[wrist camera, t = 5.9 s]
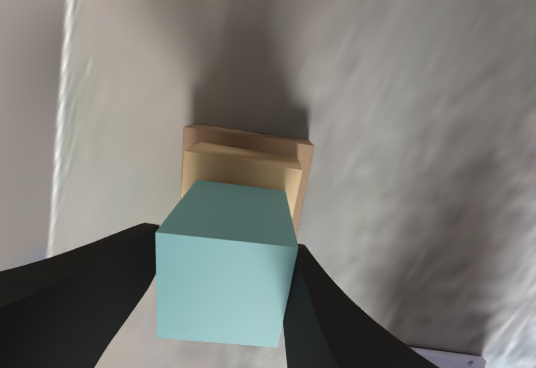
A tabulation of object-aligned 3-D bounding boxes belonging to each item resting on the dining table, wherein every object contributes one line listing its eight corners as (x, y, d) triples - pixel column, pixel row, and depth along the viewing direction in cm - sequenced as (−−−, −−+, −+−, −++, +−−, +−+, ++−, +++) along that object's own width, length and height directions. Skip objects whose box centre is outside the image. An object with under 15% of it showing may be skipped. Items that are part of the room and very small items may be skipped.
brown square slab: (308, 139, 18) (314, 145, 15) (289, 236, 20) (292, 257, 18) (198, 123, 18) (183, 126, 15) (192, 222, 20) (179, 242, 17)
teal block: (285, 190, 13) (298, 247, 8) (272, 263, 14) (277, 347, 9) (196, 179, 12) (155, 232, 8) (193, 255, 14) (157, 337, 9)
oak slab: (297, 157, 15) (302, 170, 12) (280, 241, 17) (281, 269, 14) (201, 141, 15) (183, 150, 12) (194, 228, 17) (178, 253, 14)
